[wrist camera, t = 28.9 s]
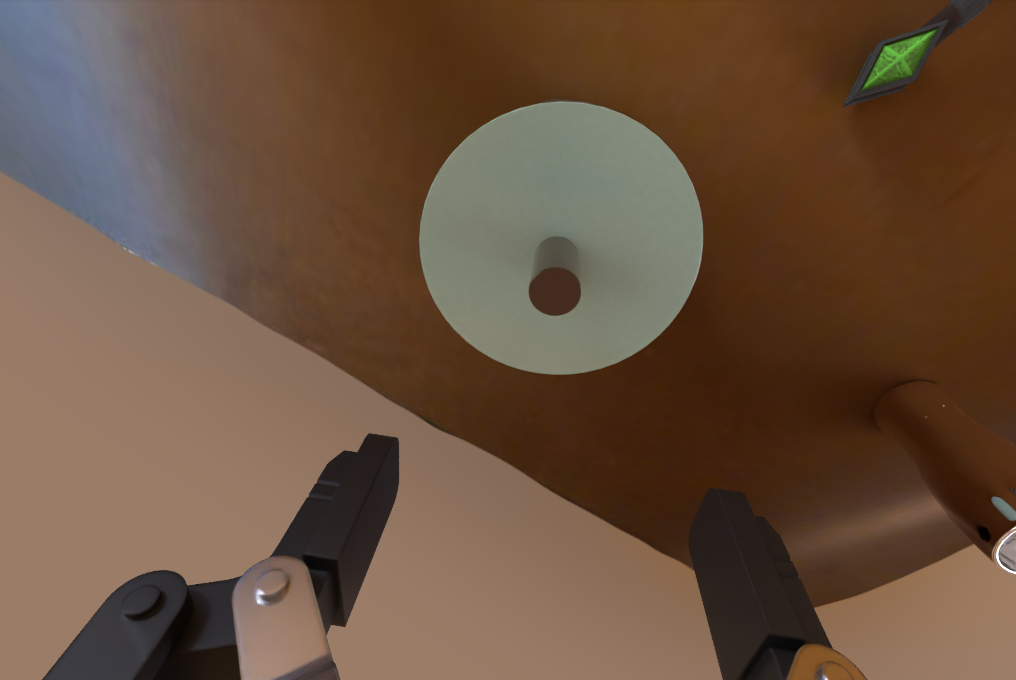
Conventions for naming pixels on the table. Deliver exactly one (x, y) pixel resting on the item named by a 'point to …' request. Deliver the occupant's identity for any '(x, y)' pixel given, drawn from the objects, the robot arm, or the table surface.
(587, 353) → the pot lid
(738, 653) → the robot arm
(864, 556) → the table surface
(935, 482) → the beer glass
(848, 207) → the table surface
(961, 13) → the war hammer
